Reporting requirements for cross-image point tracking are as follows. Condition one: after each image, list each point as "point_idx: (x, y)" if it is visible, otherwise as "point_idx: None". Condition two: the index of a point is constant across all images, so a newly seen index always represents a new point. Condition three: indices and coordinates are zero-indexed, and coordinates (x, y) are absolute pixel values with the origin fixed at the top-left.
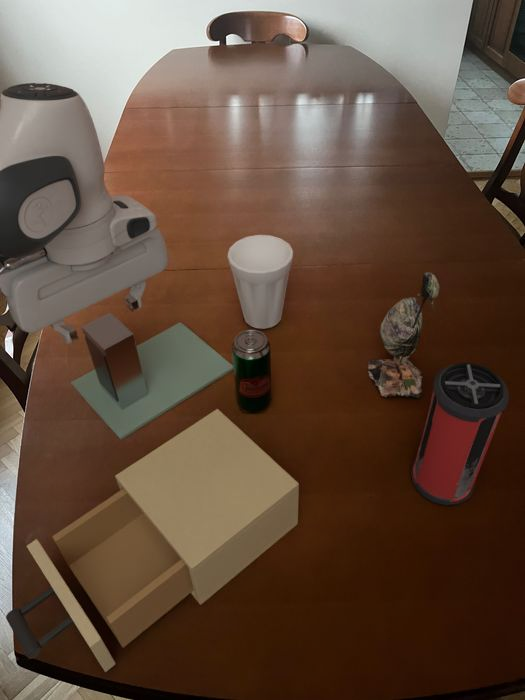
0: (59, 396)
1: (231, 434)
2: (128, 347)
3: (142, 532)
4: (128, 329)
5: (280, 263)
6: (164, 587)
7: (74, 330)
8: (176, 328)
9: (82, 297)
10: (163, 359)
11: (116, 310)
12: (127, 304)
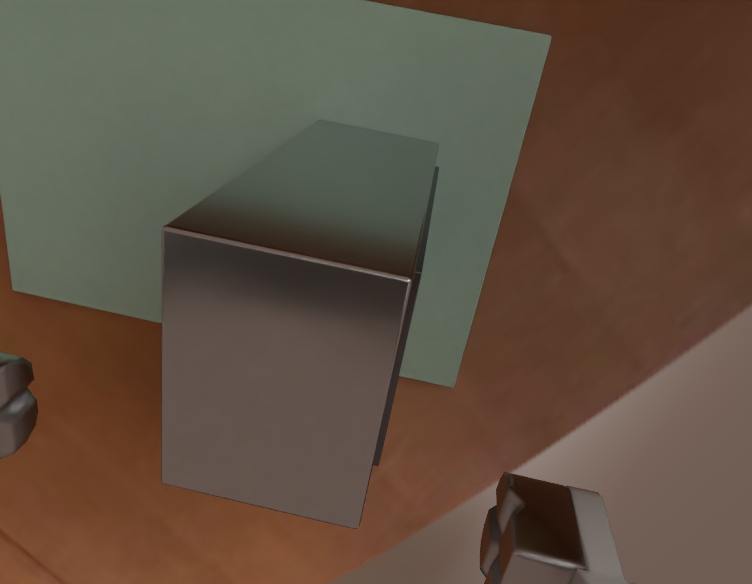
0: (514, 376)
1: None
2: (257, 209)
3: None
4: (162, 286)
5: None
6: None
7: (526, 557)
8: (40, 278)
9: None
10: (164, 207)
11: (149, 484)
12: (9, 434)
